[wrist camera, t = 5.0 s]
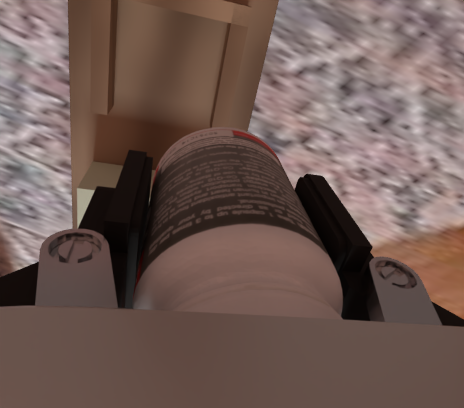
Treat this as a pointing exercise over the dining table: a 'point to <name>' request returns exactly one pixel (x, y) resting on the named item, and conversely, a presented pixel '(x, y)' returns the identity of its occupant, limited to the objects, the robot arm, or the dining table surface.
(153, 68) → the housing
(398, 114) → the dining table surface
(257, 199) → the pill bottle
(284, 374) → the robot arm
